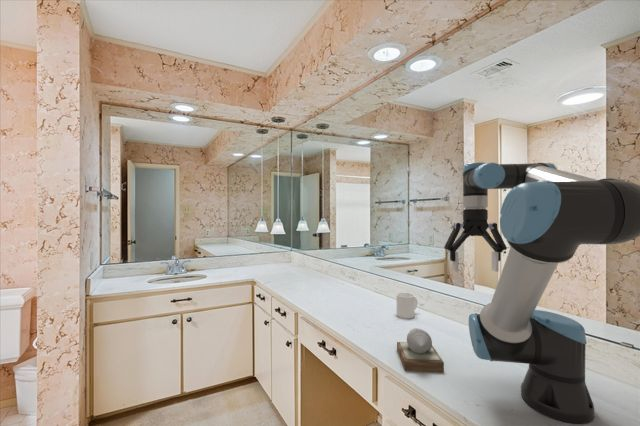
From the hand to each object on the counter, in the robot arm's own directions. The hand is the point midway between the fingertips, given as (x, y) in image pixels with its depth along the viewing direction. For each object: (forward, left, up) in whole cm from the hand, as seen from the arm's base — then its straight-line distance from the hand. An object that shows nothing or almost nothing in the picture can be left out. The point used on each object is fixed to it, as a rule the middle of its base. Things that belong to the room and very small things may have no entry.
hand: (475, 270), depth 103 cm
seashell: (0, +19, -27) cm, 33 cm away
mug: (+42, +13, -30) cm, 53 cm away
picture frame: (-2, +19, -30) cm, 36 cm away
